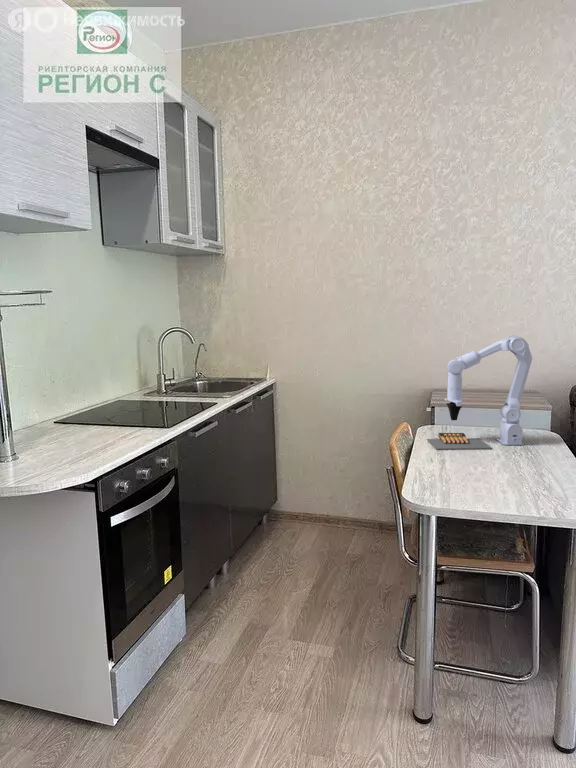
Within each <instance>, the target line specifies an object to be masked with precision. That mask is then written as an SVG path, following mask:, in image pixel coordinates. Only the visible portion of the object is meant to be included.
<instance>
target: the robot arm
mask: <svg viewBox="0 0 576 768" xmlns="http://www.w3.org/2000/svg"><path fill="white" fill-rule="evenodd" d="M499 351H505V352H509V351H510V353H512V354H513V355H514V356H515V357H516V359H517V364H516V368H515V370H514V374H513V377H512V380H511V381H512V382H511V384H510V387H509V392H508V395H507V397H506V399H505V401H504V403H503V404H502V406H501V407H500V410H499V412H500V415H501V416H502V418H501V419H500V424H499V425H500V428H499V429H500V431H499V437H500V438H496V441H498V442H499V443H501V444H503V445H504V446H523V445H525V443H523V428H522V426H520V418H521V408H522V407H521V403H522V402H521V401H522V400H521V399H522V396H523V393H524V389H525V386H526V381H527V379H528V376H529V372H530V368H531V365H532V361H533V356H532V352H531V349H530V347H529V343H528V342H527V340H525V338H524V337H521V336H517V335H510V336H508V337H505V338H502V339H499V340H497V341H496V342H494V343H492V344H490V345H488V346H486V347H484V348H482V349H480V350H478V351H476V350H468V351H467V353H464V354H463V355H461V356H456V359H450V361H448V363H447V366H446V369H447V371H448V373H447V375H448V377H447V391H446V392H447V394H446V395H447V397H446V398H444V401H445V402H447V403H446V406H447V408H448V413H449V417H450V420H451V421H457V420H458V417H459V414H460V410H461V409H462V407H463V402H462V401H463V398H462V397H463V395H462V394H463V393H462V391H463V389H462V388H463V377H462V375H463V371H464V370H467V369H470V368H472V367H473V366H476V365H478V364H480V363H481V360H482V359H483V358H487V357H488V356H491V355H492V354H495V353H497V352H499Z"/></svg>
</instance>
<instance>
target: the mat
mask: <svg viewBox="0 0 576 768" xmlns="http://www.w3.org/2000/svg"><path fill="white" fill-rule="evenodd" d="M466 438H467V440H468V443H466V442H464V443H461V442H460V441H459V442H460V443H457V442H456V441H455V443H453V442H451V443H448V442H447V441H446V443H444V442H443V441H442V440H440V438H427V439H426V441H427V440H428V441H427V443H429V444H430V445H431V446H432V447H433V448H434V449H435V450H436V451H459V450H460V451H464V450H465V451H467V450H468V451H470V450H471V451H472V450H473V451H475V450H477V451H478V450H479V451H481V450H493V447H492V446H491V445H489V444H488V443H486V442H484V441H483V440H481V438H478V437H477V438H473V437H472V438H469V437H466ZM450 441H451V440H450Z"/></svg>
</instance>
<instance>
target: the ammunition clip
mask: <svg viewBox="0 0 576 768" xmlns="http://www.w3.org/2000/svg"><path fill="white" fill-rule="evenodd" d="M467 438H468V437H467V436H466V434H465V433H464V432H438V439H440V440H442V441H443V442H444V443H446V441H447V442H448V443H451V442H453V443H455V441H456V442H457V443H460V442H461V443H464V442H466V443H468V440H467ZM450 440H451V441H450ZM459 441H460V442H459Z"/></svg>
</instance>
